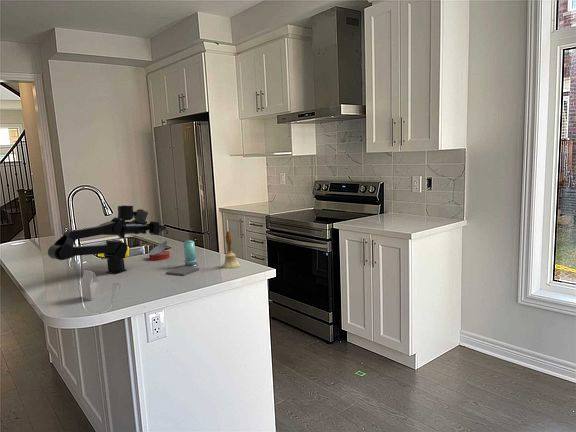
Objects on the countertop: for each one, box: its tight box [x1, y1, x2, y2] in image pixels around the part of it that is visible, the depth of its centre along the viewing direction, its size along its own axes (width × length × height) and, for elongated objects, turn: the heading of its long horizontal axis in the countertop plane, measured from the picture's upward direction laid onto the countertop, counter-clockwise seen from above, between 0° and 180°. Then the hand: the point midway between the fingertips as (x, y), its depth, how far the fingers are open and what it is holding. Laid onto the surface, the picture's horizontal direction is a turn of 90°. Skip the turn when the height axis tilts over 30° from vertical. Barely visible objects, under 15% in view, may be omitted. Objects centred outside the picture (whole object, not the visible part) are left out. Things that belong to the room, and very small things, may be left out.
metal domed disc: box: [183, 261, 199, 268], centre depth 204 cm, size 6×6×2 cm
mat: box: [165, 266, 200, 277], centre depth 194 cm, size 10×10×1 cm
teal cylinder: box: [183, 239, 198, 264], centre depth 203 cm, size 6×6×10 cm
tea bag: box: [80, 269, 102, 302], centre depth 162 cm, size 4×7×10 cm, turn 51°
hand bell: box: [221, 230, 241, 269], centre depth 199 cm, size 8×8×16 cm
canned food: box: [148, 240, 171, 262], centre depth 224 cm, size 11×10×10 cm
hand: (160, 226), depth 218 cm, fingers open, 9 cm apart
